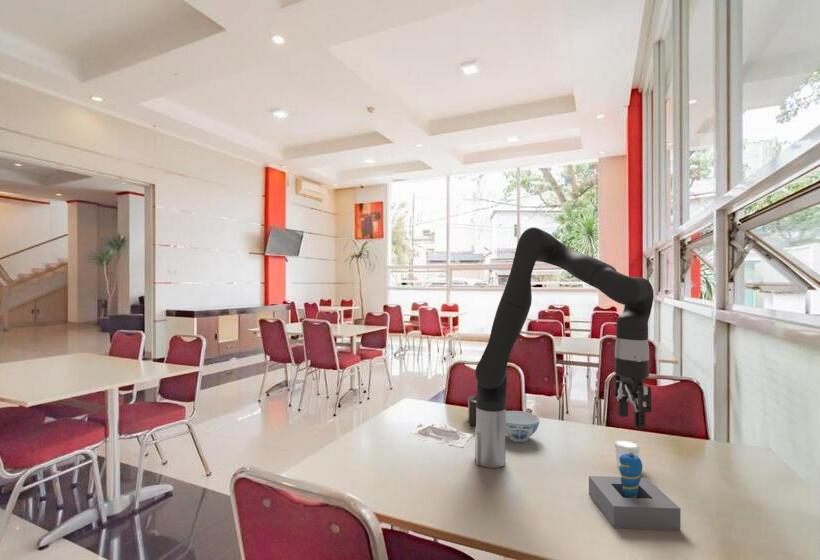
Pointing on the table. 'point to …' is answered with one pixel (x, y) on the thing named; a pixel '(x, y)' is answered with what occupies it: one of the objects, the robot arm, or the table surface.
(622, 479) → the ornament
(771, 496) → the table surface
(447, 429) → the terrain model
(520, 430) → the chinaware
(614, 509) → the socket block
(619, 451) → the white short cylinder
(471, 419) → the pepper mill
